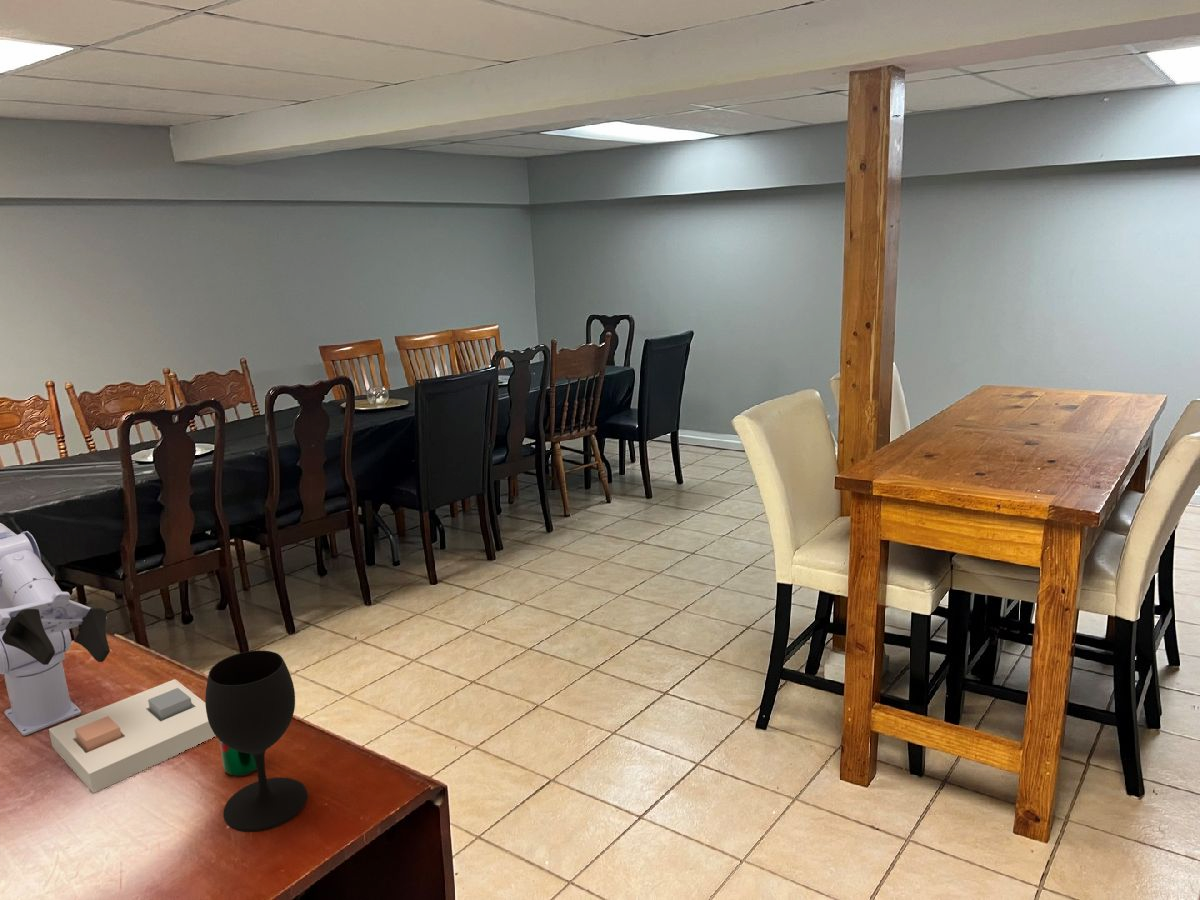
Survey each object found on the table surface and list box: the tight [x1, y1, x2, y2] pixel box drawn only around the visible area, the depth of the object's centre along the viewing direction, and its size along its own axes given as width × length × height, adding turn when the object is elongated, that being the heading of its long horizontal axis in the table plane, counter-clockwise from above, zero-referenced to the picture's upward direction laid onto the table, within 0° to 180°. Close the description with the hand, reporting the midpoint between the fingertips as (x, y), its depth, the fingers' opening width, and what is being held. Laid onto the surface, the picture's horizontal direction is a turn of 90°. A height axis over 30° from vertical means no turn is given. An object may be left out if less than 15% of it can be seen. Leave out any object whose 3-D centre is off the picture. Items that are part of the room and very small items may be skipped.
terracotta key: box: [75, 716, 122, 752], centre depth 124 cm, size 4×4×2 cm
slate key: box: [148, 688, 192, 721], centre depth 131 cm, size 4×4×2 cm
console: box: [48, 678, 216, 794], centre depth 128 cm, size 16×18×3 cm
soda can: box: [218, 739, 257, 777], centre depth 120 cm, size 5×5×12 cm
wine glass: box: [204, 649, 308, 833], centre depth 111 cm, size 10×10×20 cm
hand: (77, 657), depth 117 cm, fingers open, 7 cm apart
